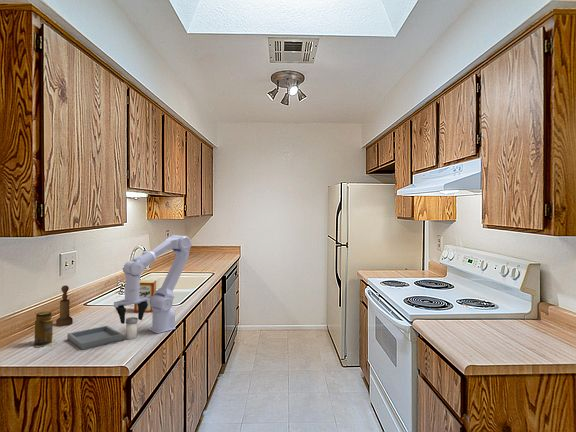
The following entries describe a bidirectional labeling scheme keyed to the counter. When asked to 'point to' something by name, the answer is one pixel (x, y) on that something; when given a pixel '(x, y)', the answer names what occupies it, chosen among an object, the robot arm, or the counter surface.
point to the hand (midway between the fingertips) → (131, 321)
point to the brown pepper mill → (64, 309)
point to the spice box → (146, 293)
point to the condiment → (43, 330)
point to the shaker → (131, 328)
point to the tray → (94, 337)
